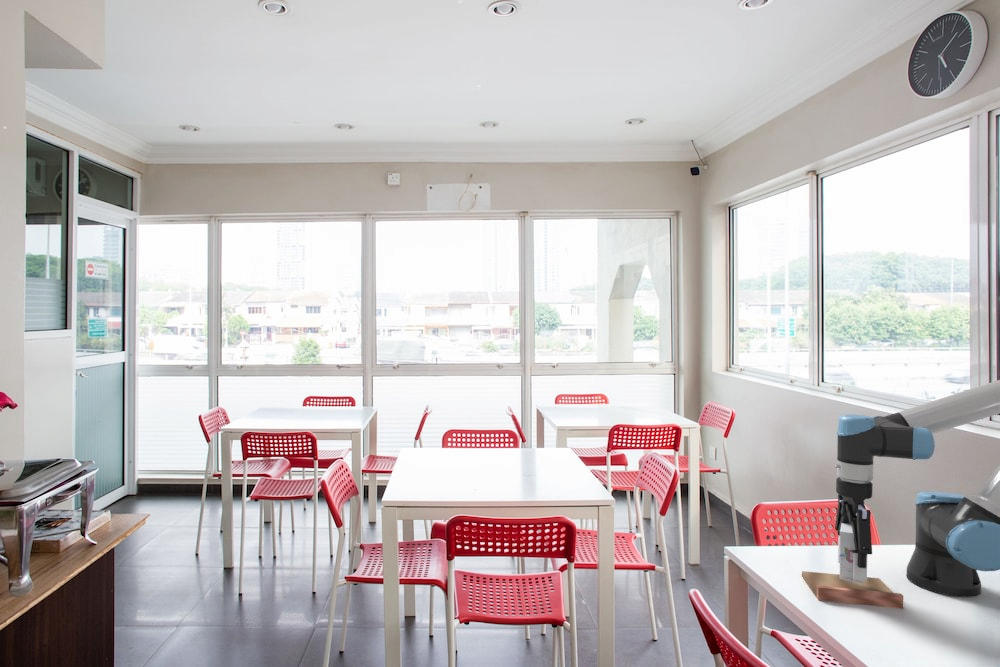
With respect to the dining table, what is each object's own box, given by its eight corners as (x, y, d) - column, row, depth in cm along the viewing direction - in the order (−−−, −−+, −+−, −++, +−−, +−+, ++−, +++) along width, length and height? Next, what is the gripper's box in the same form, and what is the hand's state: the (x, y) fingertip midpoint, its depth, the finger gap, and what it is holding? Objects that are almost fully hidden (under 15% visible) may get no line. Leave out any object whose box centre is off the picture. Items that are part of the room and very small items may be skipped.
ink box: (840, 567, 147) (841, 520, 147) (863, 571, 145) (864, 524, 144) (838, 579, 140) (839, 530, 140) (863, 584, 137) (864, 534, 137)
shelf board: (879, 584, 148) (879, 572, 148) (903, 608, 135) (903, 595, 135) (801, 576, 152) (802, 565, 152) (818, 600, 139) (818, 587, 139)
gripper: (822, 467, 153) (820, 552, 154) (854, 490, 132) (851, 589, 132) (854, 469, 152) (851, 555, 152) (891, 493, 130) (888, 593, 131)
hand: (851, 571), depth 142 cm, fingers closed on ink box, 9 cm apart
